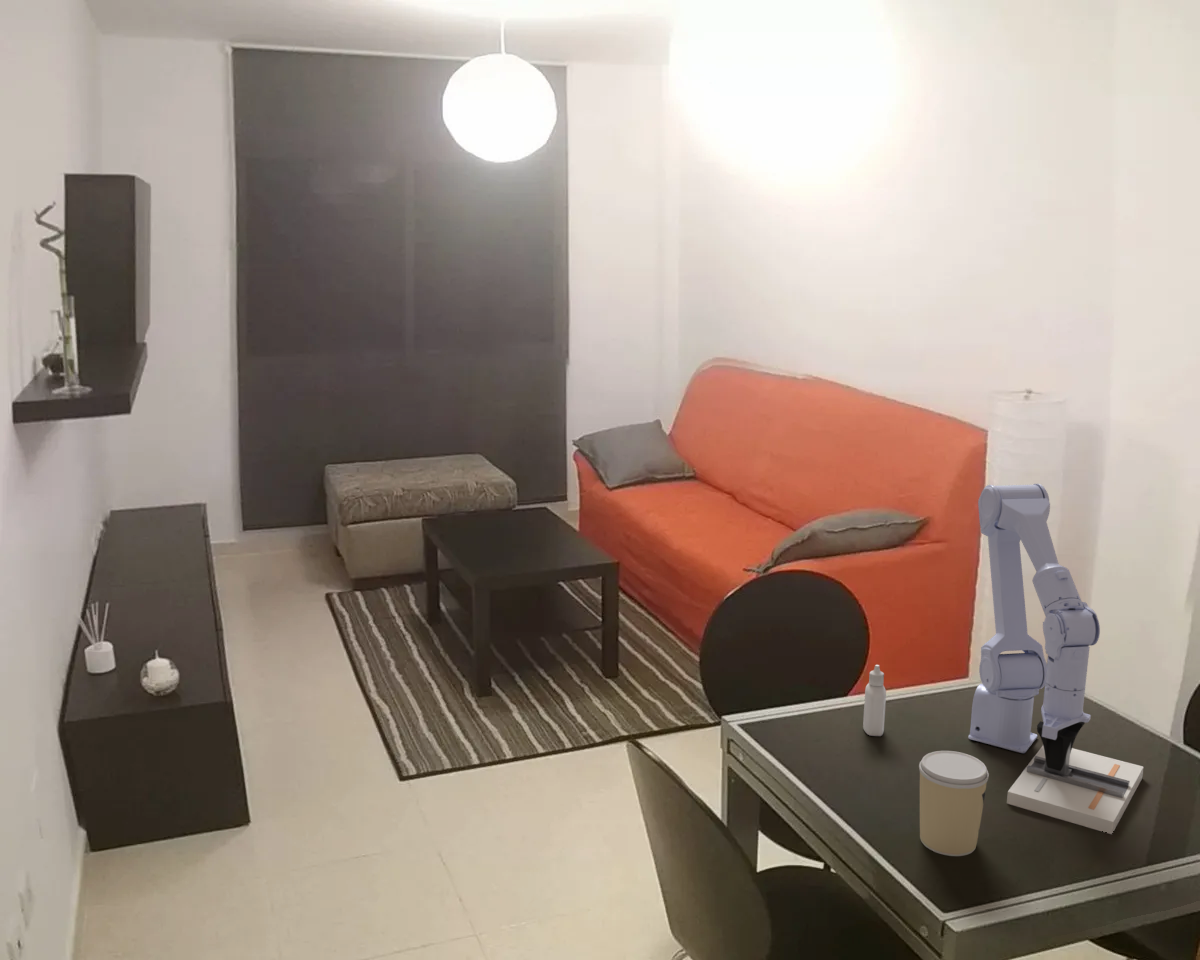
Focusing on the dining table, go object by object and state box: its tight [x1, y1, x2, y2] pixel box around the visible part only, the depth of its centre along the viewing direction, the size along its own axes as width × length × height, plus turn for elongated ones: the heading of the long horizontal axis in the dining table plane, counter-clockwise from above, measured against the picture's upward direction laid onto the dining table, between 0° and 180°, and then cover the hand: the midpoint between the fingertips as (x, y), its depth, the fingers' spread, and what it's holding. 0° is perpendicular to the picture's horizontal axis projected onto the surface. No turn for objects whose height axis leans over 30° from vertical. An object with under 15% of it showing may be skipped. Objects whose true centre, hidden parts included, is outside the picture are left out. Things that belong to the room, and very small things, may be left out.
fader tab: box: [1041, 744, 1072, 776], centre depth 176 cm, size 4×2×6 cm, turn 54°
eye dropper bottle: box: [862, 664, 887, 737], centre depth 194 cm, size 4×6×12 cm
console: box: [1006, 745, 1144, 835], centre depth 175 cm, size 15×21×3 cm
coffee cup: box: [918, 750, 990, 857], centre depth 159 cm, size 9×9×12 cm
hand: (1056, 764), depth 176 cm, fingers closed on fader tab, 2 cm apart
